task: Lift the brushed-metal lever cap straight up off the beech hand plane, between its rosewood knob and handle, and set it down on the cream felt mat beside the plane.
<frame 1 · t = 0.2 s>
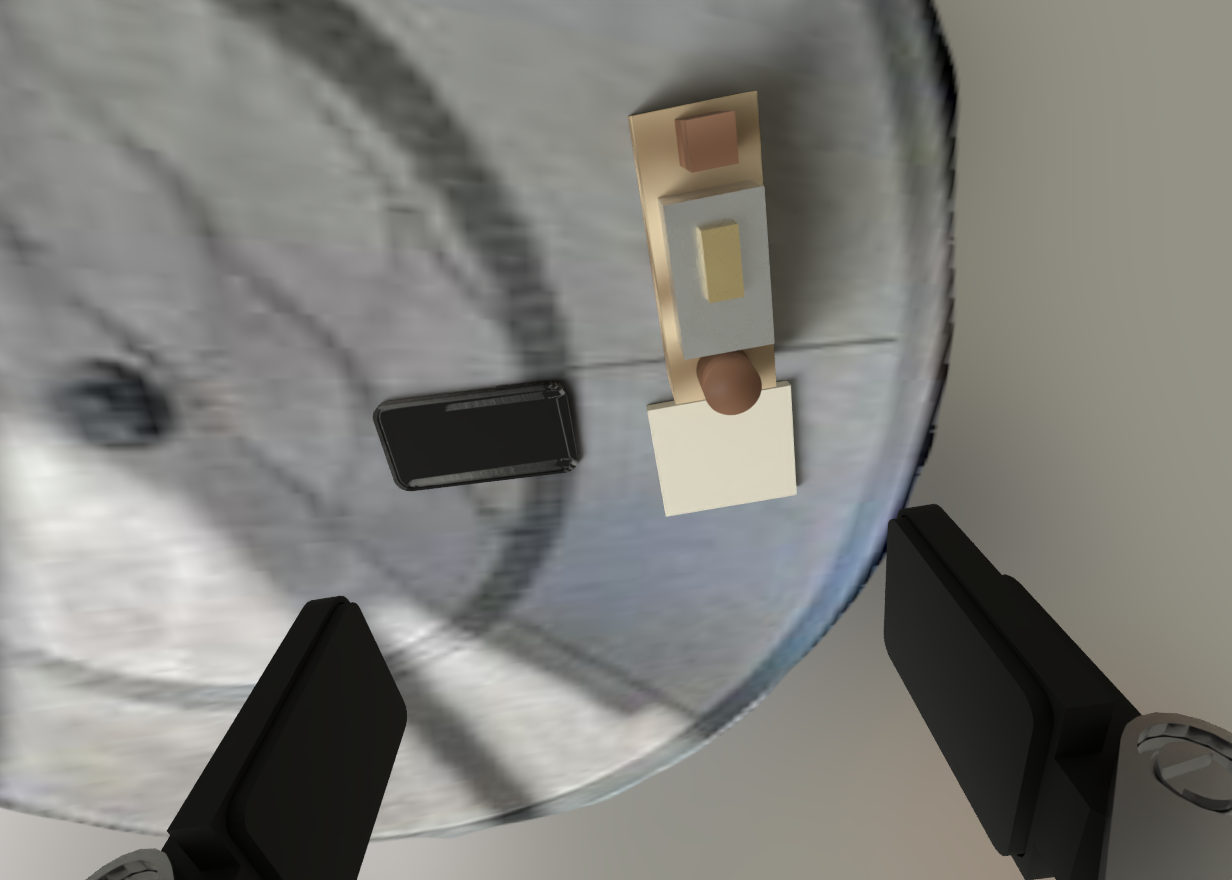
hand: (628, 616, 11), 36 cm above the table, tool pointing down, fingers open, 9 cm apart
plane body: (699, 249, 43), on the table
phone: (480, 431, 50), on the table
felt mat: (722, 448, 50), on the table
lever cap: (711, 265, 38), point 5 cm above the table, touching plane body
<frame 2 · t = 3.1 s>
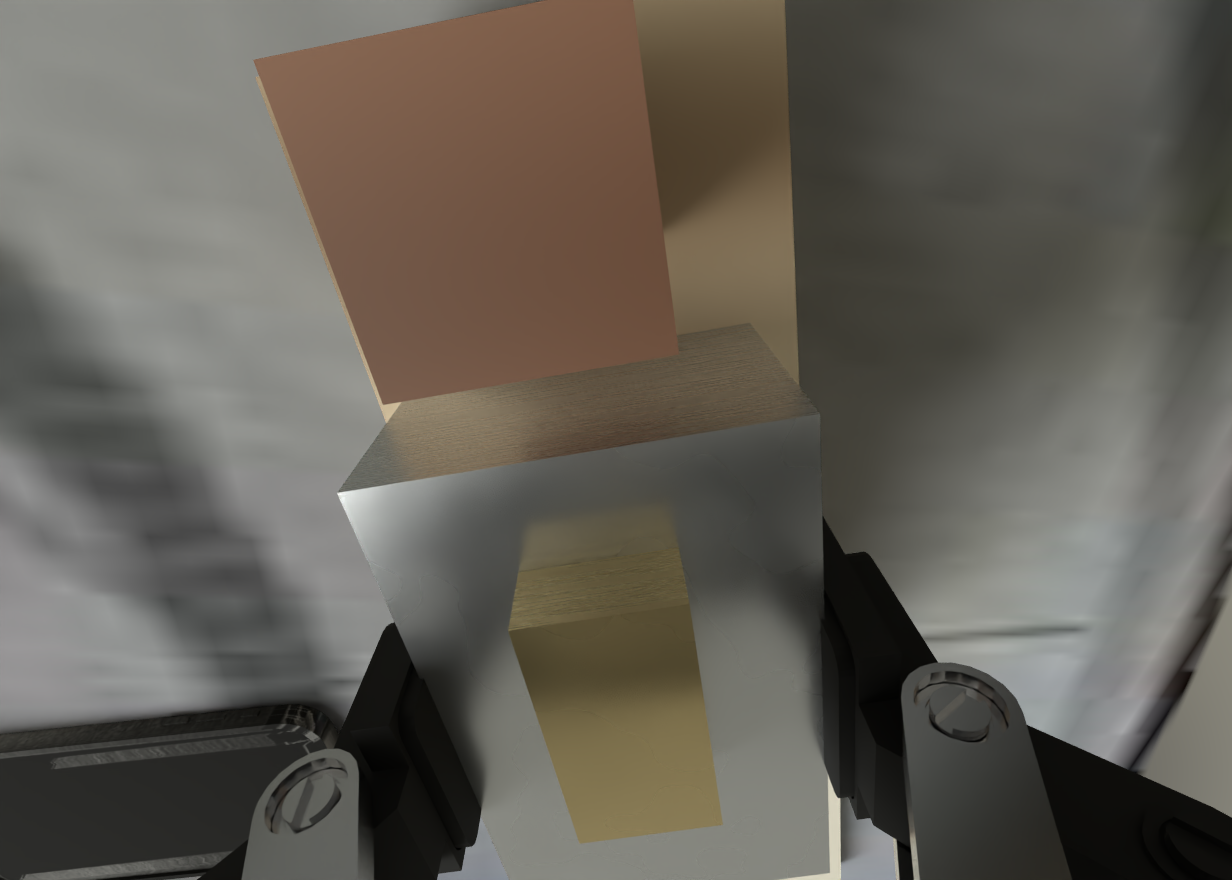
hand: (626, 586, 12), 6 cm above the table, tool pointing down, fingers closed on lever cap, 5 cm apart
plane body: (618, 449, 17), on the table
phone: (164, 780, 23), on the table
felt mat: (687, 810, 24), on the table
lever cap: (625, 568, 12), point 5 cm above the table, touching gripper, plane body
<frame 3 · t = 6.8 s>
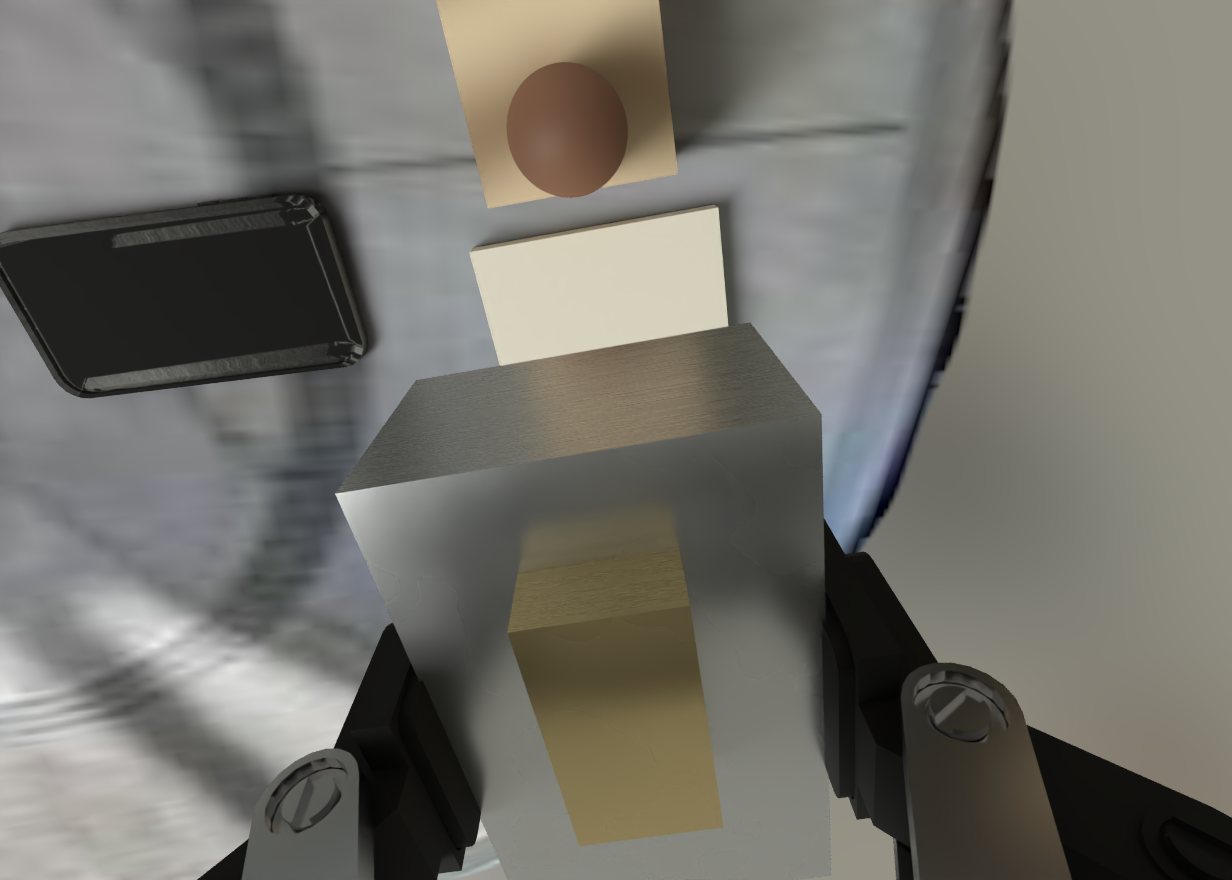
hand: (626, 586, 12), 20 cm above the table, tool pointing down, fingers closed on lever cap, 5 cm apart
phone: (197, 295, 29), on the table
felt mat: (611, 332, 30), on the table
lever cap: (625, 569, 12), point 20 cm above the table, touching gripper
when the fingers open (3 cm above the table, at t = 10.6 s): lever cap drops 1 cm, resting on felt mat.
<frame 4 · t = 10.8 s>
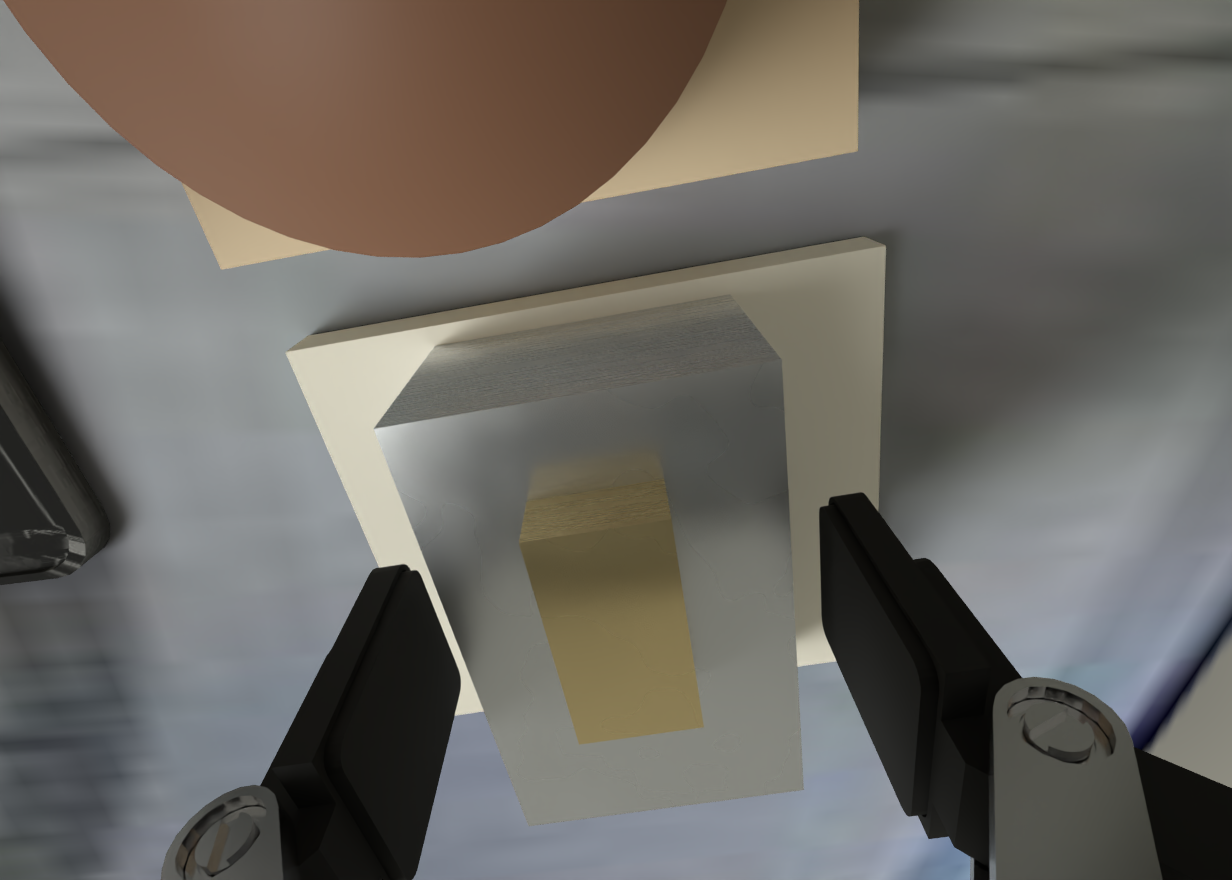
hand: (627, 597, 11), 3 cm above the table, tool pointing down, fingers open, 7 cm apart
felt mat: (621, 501, 14), on the table
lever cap: (621, 521, 13), point 1 cm above the table, touching felt mat
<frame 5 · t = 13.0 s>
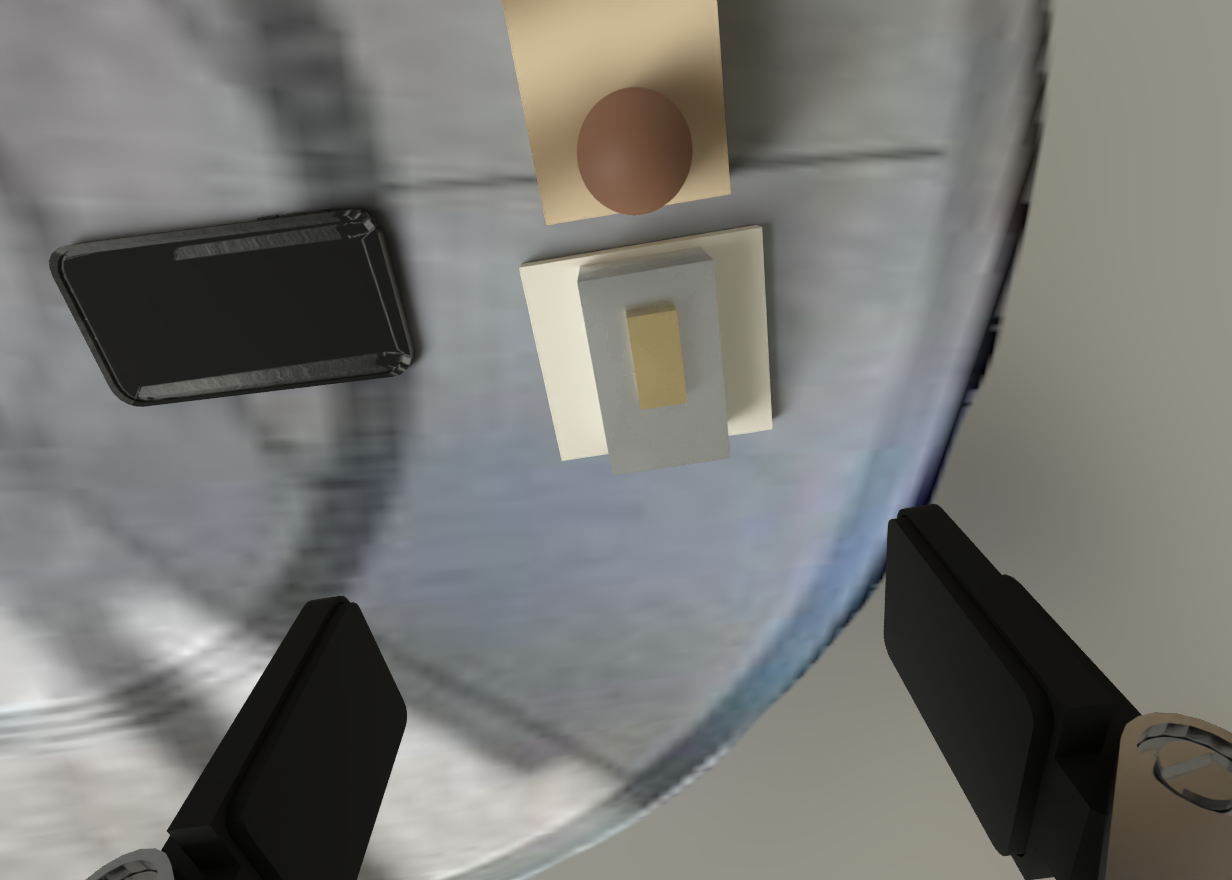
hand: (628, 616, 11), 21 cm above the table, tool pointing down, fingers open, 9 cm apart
phone: (250, 306, 30), on the table
felt mat: (652, 347, 31), on the table
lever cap: (652, 351, 30), point 1 cm above the table, touching felt mat
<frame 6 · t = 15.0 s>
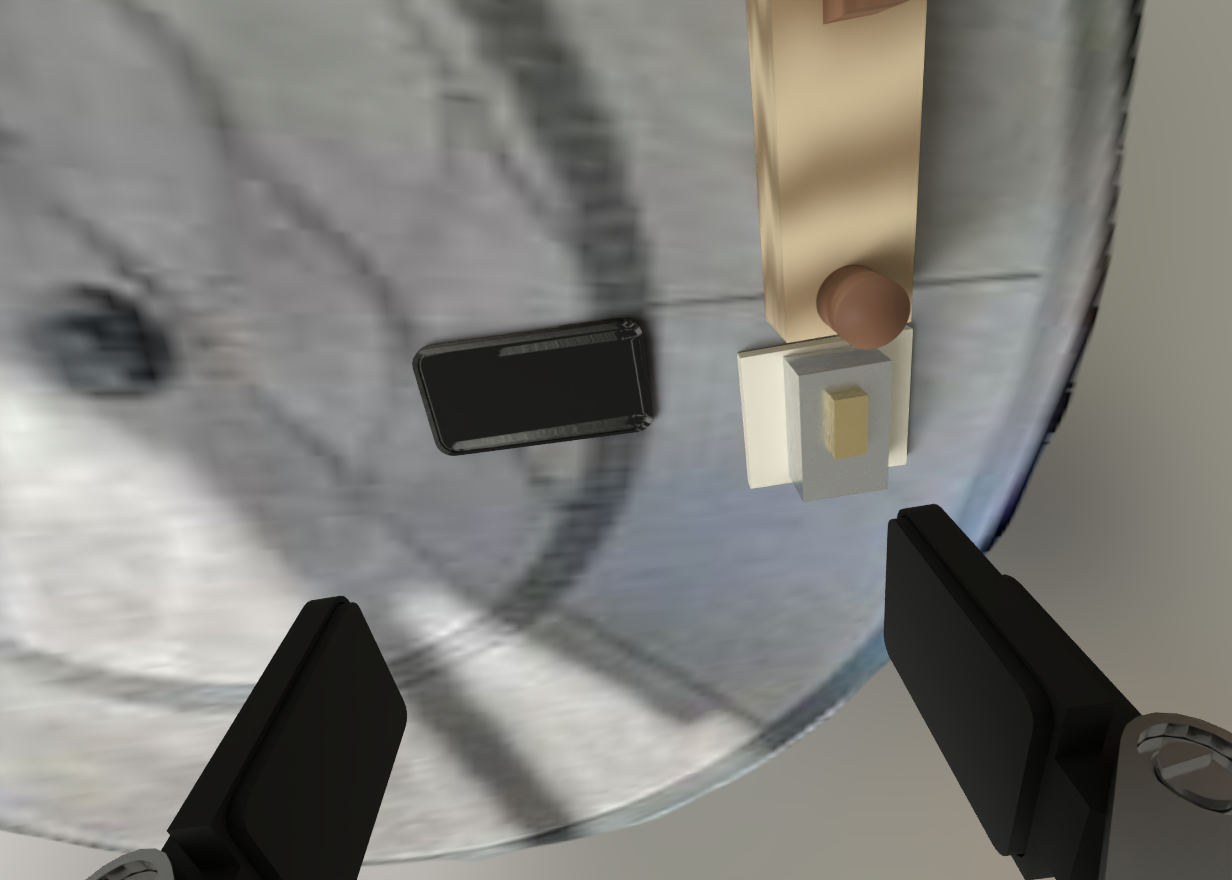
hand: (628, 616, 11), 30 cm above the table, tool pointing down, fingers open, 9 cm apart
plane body: (817, 156, 35), on the table
phone: (537, 384, 42), on the table
felt mat: (822, 407, 43), on the table
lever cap: (826, 412, 42), point 1 cm above the table, touching felt mat
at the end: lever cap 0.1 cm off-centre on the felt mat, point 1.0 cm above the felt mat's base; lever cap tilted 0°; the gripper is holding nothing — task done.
